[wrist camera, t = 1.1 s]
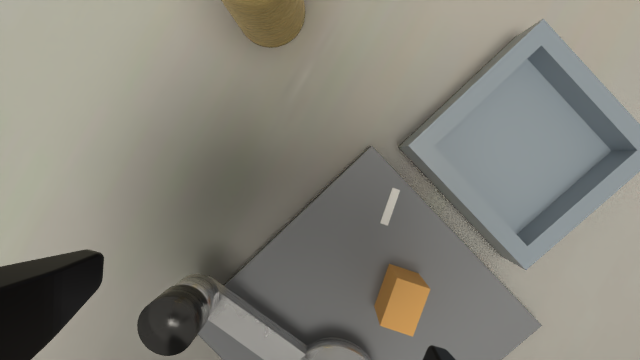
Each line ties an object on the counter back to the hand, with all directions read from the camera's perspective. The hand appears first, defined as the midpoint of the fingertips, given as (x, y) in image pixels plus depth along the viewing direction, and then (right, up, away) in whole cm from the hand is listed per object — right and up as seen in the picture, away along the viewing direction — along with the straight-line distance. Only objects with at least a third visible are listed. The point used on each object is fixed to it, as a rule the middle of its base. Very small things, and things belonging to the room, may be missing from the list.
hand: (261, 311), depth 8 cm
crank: (-1, -7, +11) cm, 13 cm away
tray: (+14, +6, +12) cm, 19 cm away
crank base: (+4, -6, +13) cm, 15 cm away
